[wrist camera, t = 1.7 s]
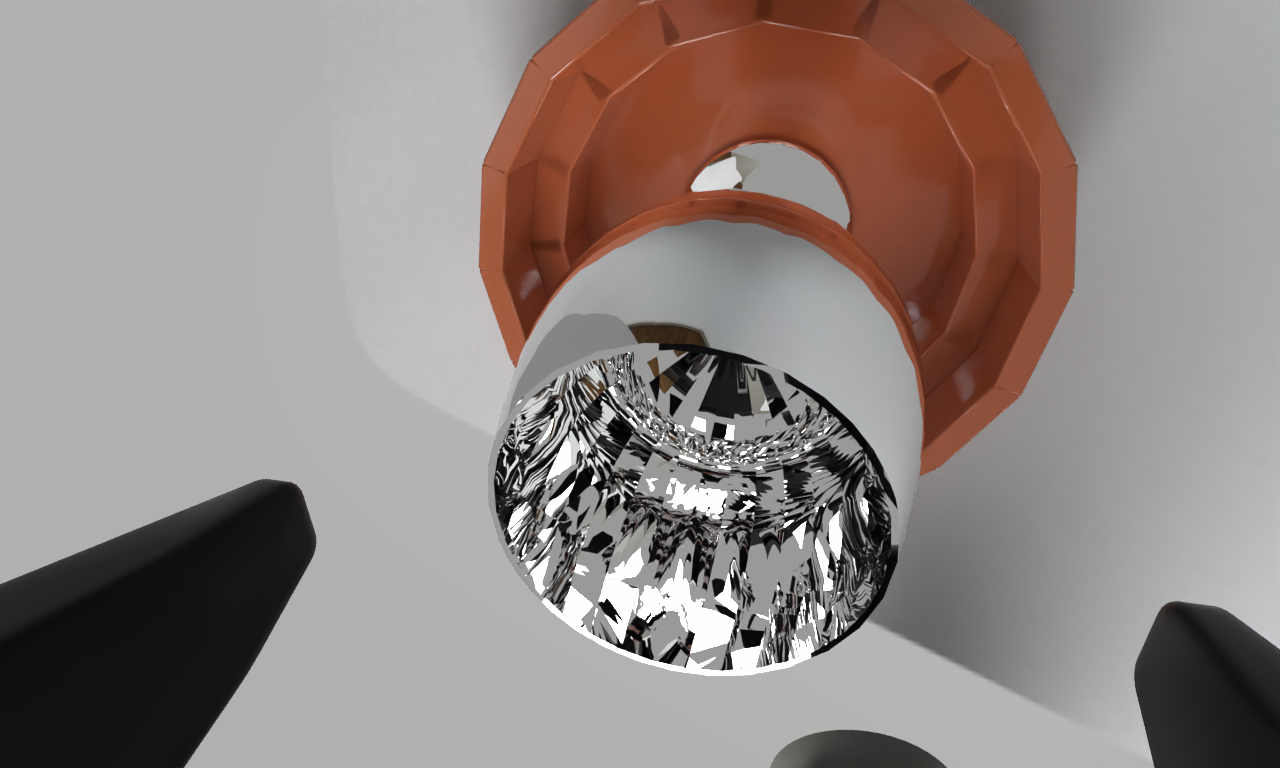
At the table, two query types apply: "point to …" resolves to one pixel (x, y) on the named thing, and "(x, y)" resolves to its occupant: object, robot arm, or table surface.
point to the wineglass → (716, 425)
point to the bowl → (826, 125)
